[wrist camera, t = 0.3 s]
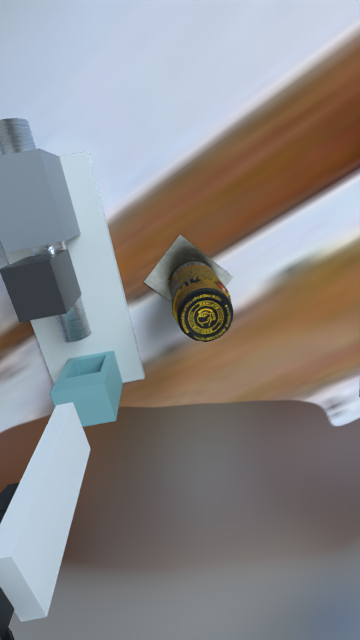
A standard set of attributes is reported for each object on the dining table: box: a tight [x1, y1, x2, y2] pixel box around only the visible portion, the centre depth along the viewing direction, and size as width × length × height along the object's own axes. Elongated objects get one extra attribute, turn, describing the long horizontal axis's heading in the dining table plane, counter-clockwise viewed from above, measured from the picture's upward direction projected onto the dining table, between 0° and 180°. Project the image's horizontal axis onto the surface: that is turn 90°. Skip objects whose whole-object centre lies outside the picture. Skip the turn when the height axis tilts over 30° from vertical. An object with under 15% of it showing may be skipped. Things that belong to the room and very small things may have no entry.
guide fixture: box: [0, 149, 145, 427], centre depth 36 cm, size 28×12×9 cm, turn 10°
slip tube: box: [0, 118, 92, 343], centre depth 32 cm, size 22×4×9 cm, turn 10°
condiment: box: [144, 235, 233, 342], centre depth 35 cm, size 7×8×12 cm
